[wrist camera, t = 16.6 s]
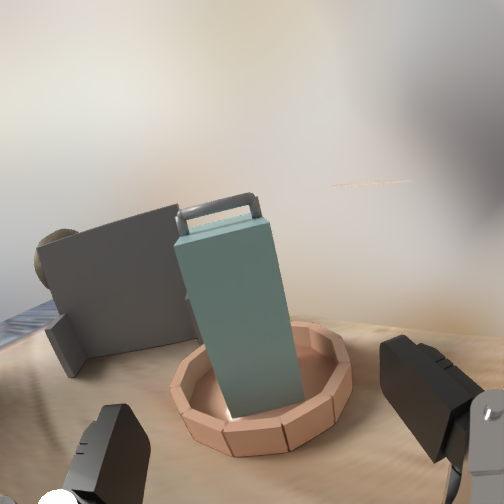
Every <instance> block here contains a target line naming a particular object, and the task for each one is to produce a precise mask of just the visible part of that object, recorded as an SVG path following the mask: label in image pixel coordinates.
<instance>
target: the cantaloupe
mask: <svg viewBox="0 0 504 504" xmlns="http://www.w3.org/2000/svg"><path fill="white" fill-rule="evenodd" d="M77 233H79V232H77V231H75V230H70V229H60V230H57V231H55V232H54V233H52V234H50V235H48V236H46V237H45V238H44V239H42V240H41V241H40V242H39V244H38V246H37V248H38V247H40V246H42V245H45V244H48V243H51V242H54V241H57V240H60V239H62V238H65V237H68V236H71V235H74V234H77ZM34 267H35V271H36V273H37V275H38V277H39V279H40V281H41V282H42V283H43V285H44V286H45V287H46V288H48V289H49V290H50V288H49V286H48V283H47V280H46V277H45V274H44V271H43V268H42V265H41V262H40V259H39V256H38V253H37V249H36V252H35V258H34Z"/></svg>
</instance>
